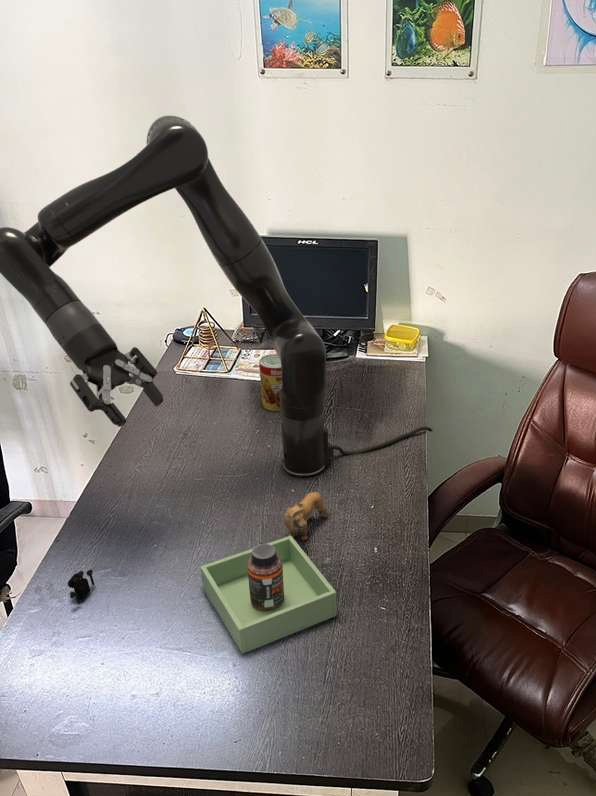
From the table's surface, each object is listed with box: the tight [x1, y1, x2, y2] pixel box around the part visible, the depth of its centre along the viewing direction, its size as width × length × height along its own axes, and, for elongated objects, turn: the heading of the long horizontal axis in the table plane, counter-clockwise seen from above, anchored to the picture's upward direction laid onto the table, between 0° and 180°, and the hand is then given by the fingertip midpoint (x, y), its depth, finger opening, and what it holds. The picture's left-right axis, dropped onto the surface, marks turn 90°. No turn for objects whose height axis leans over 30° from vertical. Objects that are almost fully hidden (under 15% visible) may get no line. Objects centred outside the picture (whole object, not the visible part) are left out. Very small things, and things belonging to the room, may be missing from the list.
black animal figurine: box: [67, 569, 95, 605], centre depth 130 cm, size 7×2×5 cm, turn 168°
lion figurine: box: [283, 491, 328, 541], centre depth 146 cm, size 15×5×9 cm, turn 163°
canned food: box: [258, 353, 282, 412], centre depth 186 cm, size 8×8×12 cm
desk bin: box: [200, 536, 337, 655], centre depth 130 cm, size 18×18×6 cm
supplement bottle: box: [247, 543, 284, 610], centre depth 127 cm, size 6×6×11 cm
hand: (142, 413), depth 127 cm, fingers open, 8 cm apart
